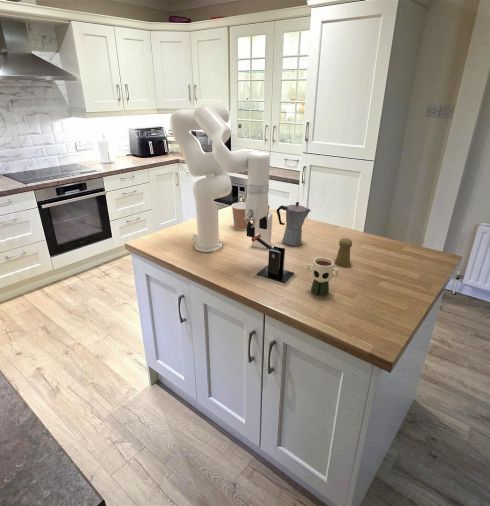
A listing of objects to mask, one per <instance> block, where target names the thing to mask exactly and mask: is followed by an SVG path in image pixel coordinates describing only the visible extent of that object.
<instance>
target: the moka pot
mask: <svg viewBox="0 0 490 506" xmlns="http://www.w3.org/2000/svg"><path fill="white" fill-rule="evenodd" d="M281 210H282V211H285V222H286V224H285V222H282V216H281V212H280V211H281ZM310 212H312V210H311V209H310V208H308V207H305V206H304V205H300V202H299V201H296V202H295V204H289V205H279V207H278V208H277V209H276V215H277V219H278V223H279V225H282V226H286V227H285V230H284V233H283V237H282V239H281V240H282V243H283V244H285V245H287V246H290V247H297V246H300V245H301V244H302V233H303V230H302V228H303V225H304V223H305V220H306V218H307V216H308V215H309V213H310Z"/></svg>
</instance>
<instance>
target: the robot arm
mask: <svg viewBox="0 0 490 506" xmlns="http://www.w3.org/2000/svg"><path fill="white" fill-rule="evenodd" d="M229 121H230V111H229V109H228V108H227V107H226V105H224V104H222V103H204V104H200V105H198V106H197V107H195V108H181V109H177V110H175V111H173V112H172V114H171V115H170V119H169V126H170V131H171V134H172V136H173V138H174V140H175V141H176V143H177V145H178V147H179V149H180V151H181V154H182V157H183V160H184V162H185V164H186V167H187V168H188V172H189V173H190V175H191V176H192V177H196V178H197V177H202V178H200V179H198V180H196V181H195V182H194V183H193V185H192V192H193V197H194V201H195V211H196V232H197V233H193V234H192V237H191V241H195V243H194V249H195V250H196V251H198V252H200V253H201V252H202V253H213V252H214V251H218V250H219V249H221V248H222V247H223V243H222V242H221V241H220V240H219V239H220V233H219V232H220V231H219V230H220V229H219V226H220V225H219V208H218V206H217V204H216V203H215V200H216V199H220V198H224V197H228V196H229V195H230V194H232V190H233V185H232V181H231V180H232V179H231V178H230V176H229V175H230V174H236V173H241V172H247V194H246V198H245V203H246V207H245V218H244V220H245V224H246V227H247V229H246V237H247V238H251V239H252V238H254V237H255V227H254V225H255V222H256V221H258V220H259V228H261V229H267V219H268V213H269V211H270V205H269V187H270V186H269V185H270V163H271V161H270V155H269V153H266V152H259V151H256V150H254V149H250V148H247V149H237V150H232V151H231V150H230V149H229V148H228V147H227V145H225V144H226V142H227V141H229V140H230V138H231V135H232V129H231V126H230V125H229V124H228V123H229ZM191 131H202V132H204V134H205V135H206V136H207V137H208V138H209V139H210V140H211V142H212V143H211V151H204V150H203V148H202V145H201V142H200V141H199V139H198V138H197V137H196V136H195V135H194V134H193V133H191ZM205 176H206V177H205ZM207 176H208V177H207ZM253 218H254V219H253Z"/></svg>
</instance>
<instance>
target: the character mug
mask: <svg viewBox="0 0 490 506" xmlns="http://www.w3.org/2000/svg"><path fill="white" fill-rule="evenodd" d="M310 268H312V269H310ZM306 272H307V273H310V274H311V277H312V279H313V281H312V284H311V288H310V293H311V294H312V295H314V296H315V297H318V296H319V298H320V297H321V298H322V297H327V296H329V293H330V283H329V282H330V281H331V280H332V279H333V278H338V277H339V273H340V269H339V268H336V267H335V261H334V260H333V259H331V258H329V257H323V256H318V257H315V258H314V259H313V261H312V263H307V264H306ZM334 272H335V273H334Z"/></svg>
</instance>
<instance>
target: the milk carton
mask: <svg viewBox="0 0 490 506" xmlns="http://www.w3.org/2000/svg"><path fill="white" fill-rule="evenodd" d="M252 219H254V218H252ZM272 226H273V212H271V211H270V210H269V213H268V219H267V229H261V228H259V220H258V221H256V222H255V225H254V227H255V236H256V235H257V234H260V235H261V237H260V239H262V240H263V241H264V242H266V243H267V244H268V245H270V246H271V244H272V230H273V228H272ZM251 247H254V248H261V249H267V248H266V247H265V246H264V245H262V244H261V243H260V242H258V241H257V240H256V241H254V242H252V241H251Z"/></svg>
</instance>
